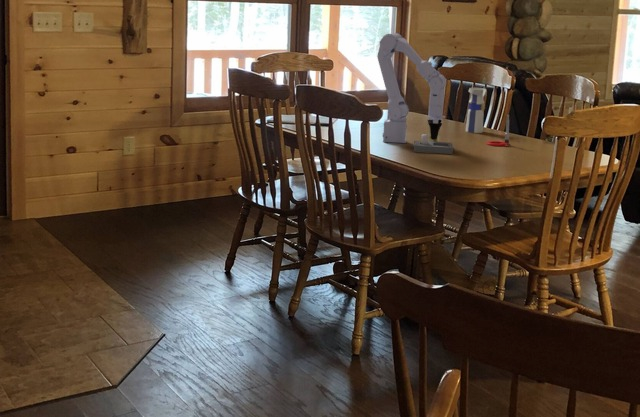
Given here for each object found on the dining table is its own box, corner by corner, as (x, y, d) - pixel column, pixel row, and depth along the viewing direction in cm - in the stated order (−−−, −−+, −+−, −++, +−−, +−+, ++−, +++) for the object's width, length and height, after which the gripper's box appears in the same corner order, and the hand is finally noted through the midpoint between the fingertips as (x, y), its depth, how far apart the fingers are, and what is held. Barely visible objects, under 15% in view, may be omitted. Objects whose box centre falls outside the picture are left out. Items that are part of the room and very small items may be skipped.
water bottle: (486, 131, 394) (491, 76, 387) (479, 133, 387) (484, 77, 380) (469, 129, 398) (474, 74, 391) (462, 131, 391) (466, 75, 384)
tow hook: (485, 146, 359) (507, 147, 357) (486, 115, 356) (509, 116, 354) (487, 143, 367) (509, 144, 364) (488, 112, 364) (510, 113, 361)
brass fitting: (427, 146, 352) (429, 124, 350) (427, 144, 357) (429, 122, 354) (438, 146, 352) (440, 124, 350) (438, 144, 356) (439, 123, 354)
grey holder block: (414, 151, 339) (415, 136, 338) (413, 146, 350) (414, 132, 348) (452, 154, 338) (453, 138, 336) (451, 148, 348) (452, 134, 347)
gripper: (446, 108, 343) (444, 142, 346) (445, 103, 357) (442, 135, 360) (428, 107, 343) (426, 141, 347) (427, 102, 357) (425, 134, 361)
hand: (433, 138), depth 354 cm, fingers closed on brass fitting, 4 cm apart
